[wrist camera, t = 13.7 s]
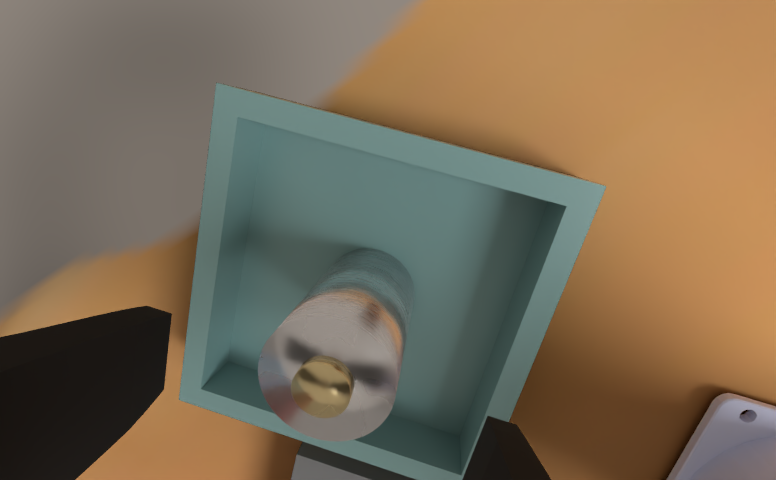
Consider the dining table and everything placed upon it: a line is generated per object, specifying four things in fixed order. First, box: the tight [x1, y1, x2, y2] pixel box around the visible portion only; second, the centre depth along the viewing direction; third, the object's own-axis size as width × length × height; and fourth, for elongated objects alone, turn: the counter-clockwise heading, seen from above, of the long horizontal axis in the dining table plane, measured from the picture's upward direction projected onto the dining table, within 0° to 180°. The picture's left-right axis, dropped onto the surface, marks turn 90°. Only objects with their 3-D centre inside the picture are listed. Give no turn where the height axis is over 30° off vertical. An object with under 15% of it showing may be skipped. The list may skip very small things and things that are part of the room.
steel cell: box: [258, 248, 415, 442], centre depth 12 cm, size 3×3×6 cm
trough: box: [179, 83, 606, 480], centre depth 14 cm, size 12×12×2 cm
